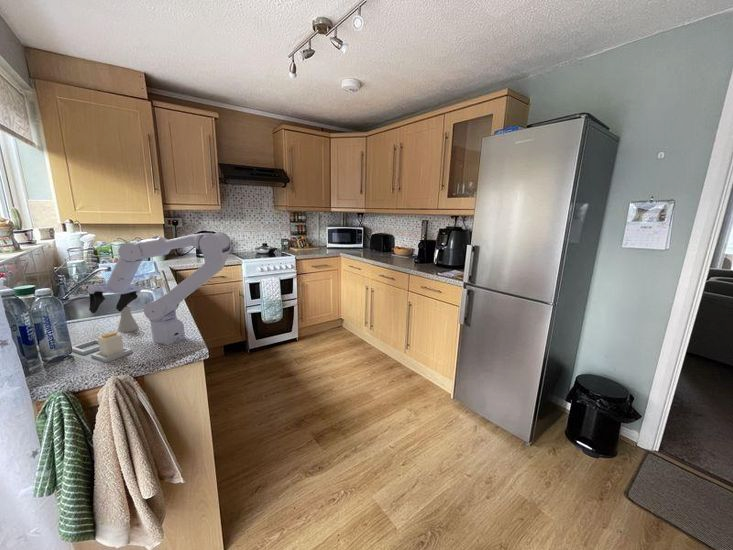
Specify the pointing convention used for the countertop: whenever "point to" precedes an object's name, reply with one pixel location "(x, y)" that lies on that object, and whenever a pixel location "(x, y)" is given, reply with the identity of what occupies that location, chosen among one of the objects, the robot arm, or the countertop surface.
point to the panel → (96, 352)
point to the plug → (110, 344)
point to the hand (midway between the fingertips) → (105, 310)
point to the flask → (127, 321)
